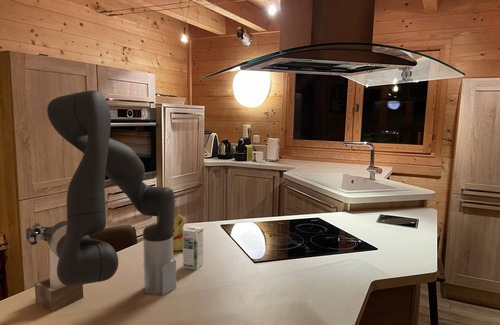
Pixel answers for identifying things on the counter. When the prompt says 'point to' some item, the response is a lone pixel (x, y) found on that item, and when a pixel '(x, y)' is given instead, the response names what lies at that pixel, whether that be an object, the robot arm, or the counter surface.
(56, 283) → the cosmetic bottle
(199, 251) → the syrup box
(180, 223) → the chocolate bunny
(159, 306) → the counter surface
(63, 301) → the holder
